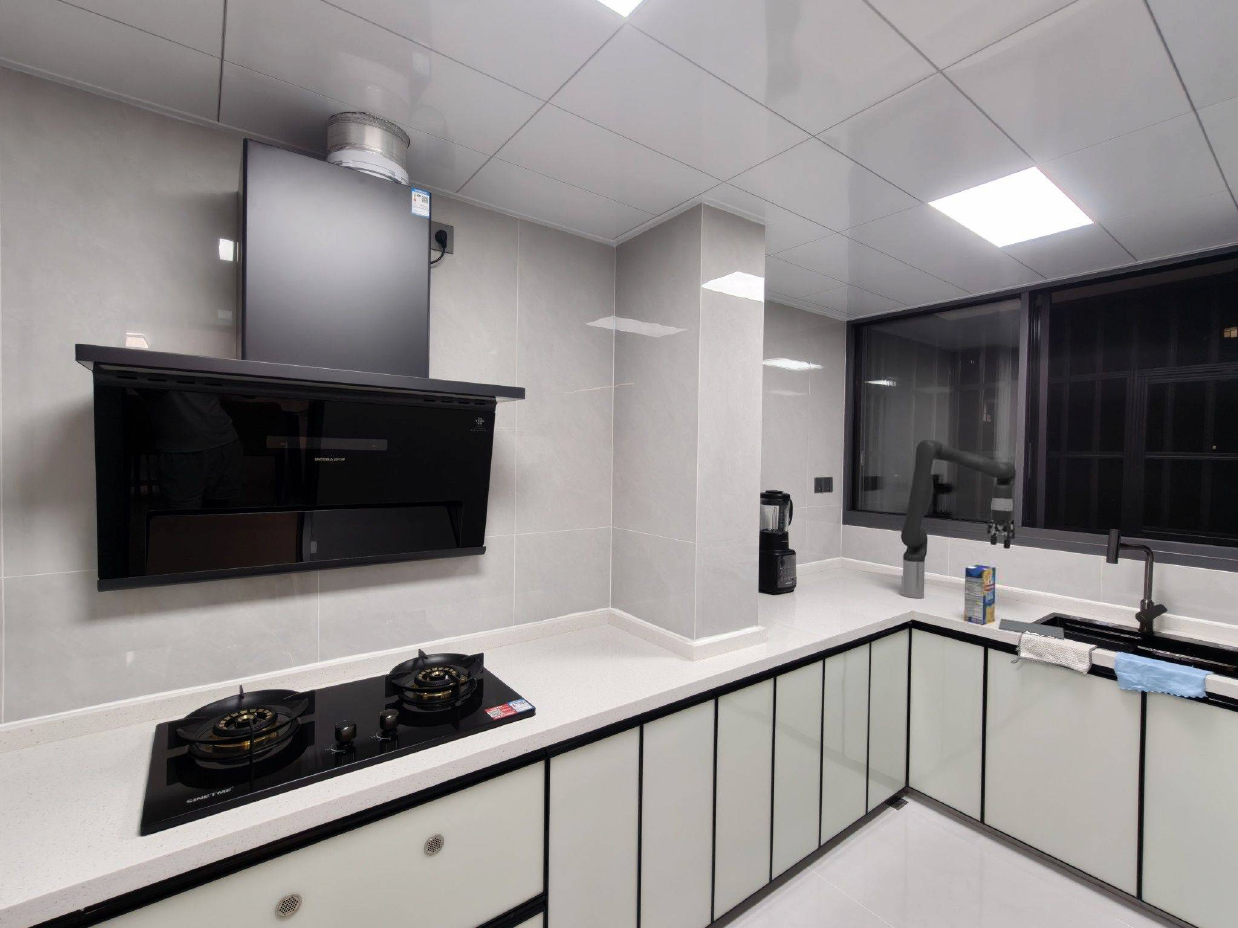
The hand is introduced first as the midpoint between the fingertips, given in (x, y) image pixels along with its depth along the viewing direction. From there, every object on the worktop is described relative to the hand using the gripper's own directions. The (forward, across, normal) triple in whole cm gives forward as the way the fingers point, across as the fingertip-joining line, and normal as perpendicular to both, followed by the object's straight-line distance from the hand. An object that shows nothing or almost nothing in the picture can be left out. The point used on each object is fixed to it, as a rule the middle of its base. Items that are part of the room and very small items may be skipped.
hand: (999, 546), depth 240 cm
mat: (+29, +22, -1) cm, 36 cm away
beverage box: (+29, +12, -15) cm, 35 cm away
